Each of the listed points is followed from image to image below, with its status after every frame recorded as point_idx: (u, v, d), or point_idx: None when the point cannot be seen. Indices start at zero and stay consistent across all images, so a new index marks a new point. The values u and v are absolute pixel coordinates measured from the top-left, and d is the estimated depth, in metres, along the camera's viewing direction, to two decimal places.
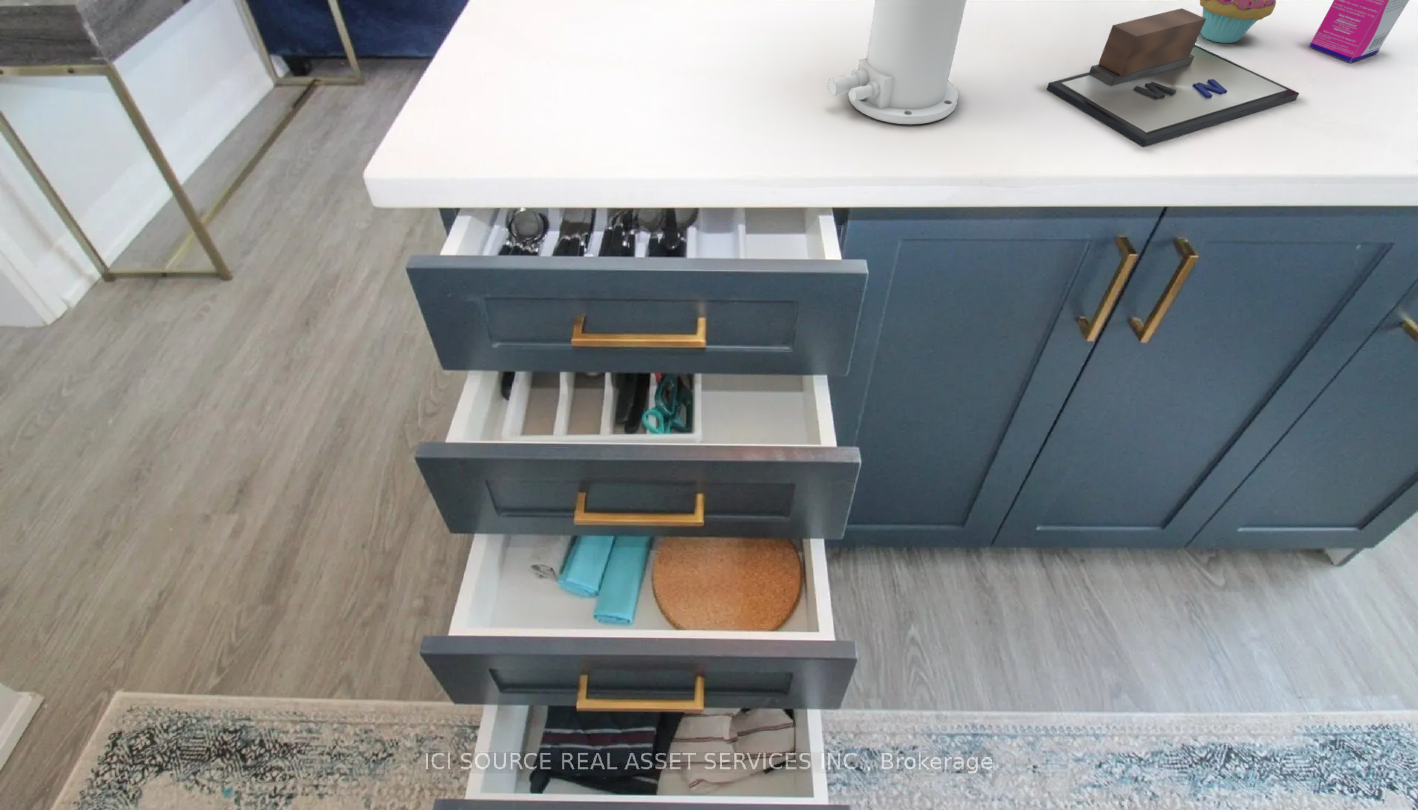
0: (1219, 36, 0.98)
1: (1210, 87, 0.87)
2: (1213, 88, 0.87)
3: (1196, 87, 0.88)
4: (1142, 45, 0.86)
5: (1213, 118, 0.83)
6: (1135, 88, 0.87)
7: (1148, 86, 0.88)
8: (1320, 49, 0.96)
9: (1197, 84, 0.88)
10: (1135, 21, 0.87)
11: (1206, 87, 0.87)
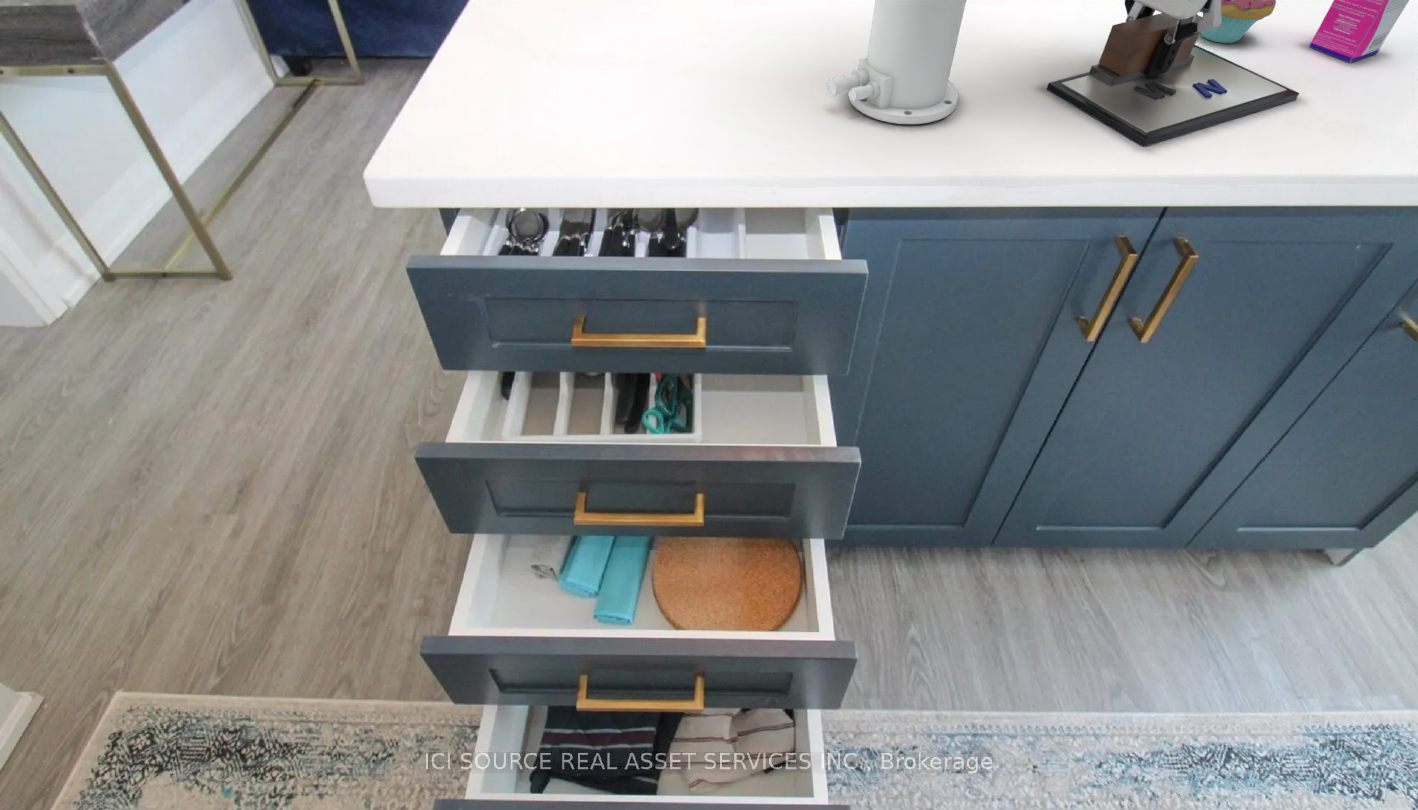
0: (1219, 36, 0.98)
1: (1210, 87, 0.87)
2: (1213, 88, 0.87)
3: (1196, 87, 0.88)
4: (1142, 45, 0.86)
5: (1213, 118, 0.83)
6: (1135, 88, 0.87)
7: (1148, 86, 0.88)
8: (1320, 49, 0.96)
9: (1197, 84, 0.88)
10: (1135, 21, 0.87)
11: (1206, 87, 0.87)
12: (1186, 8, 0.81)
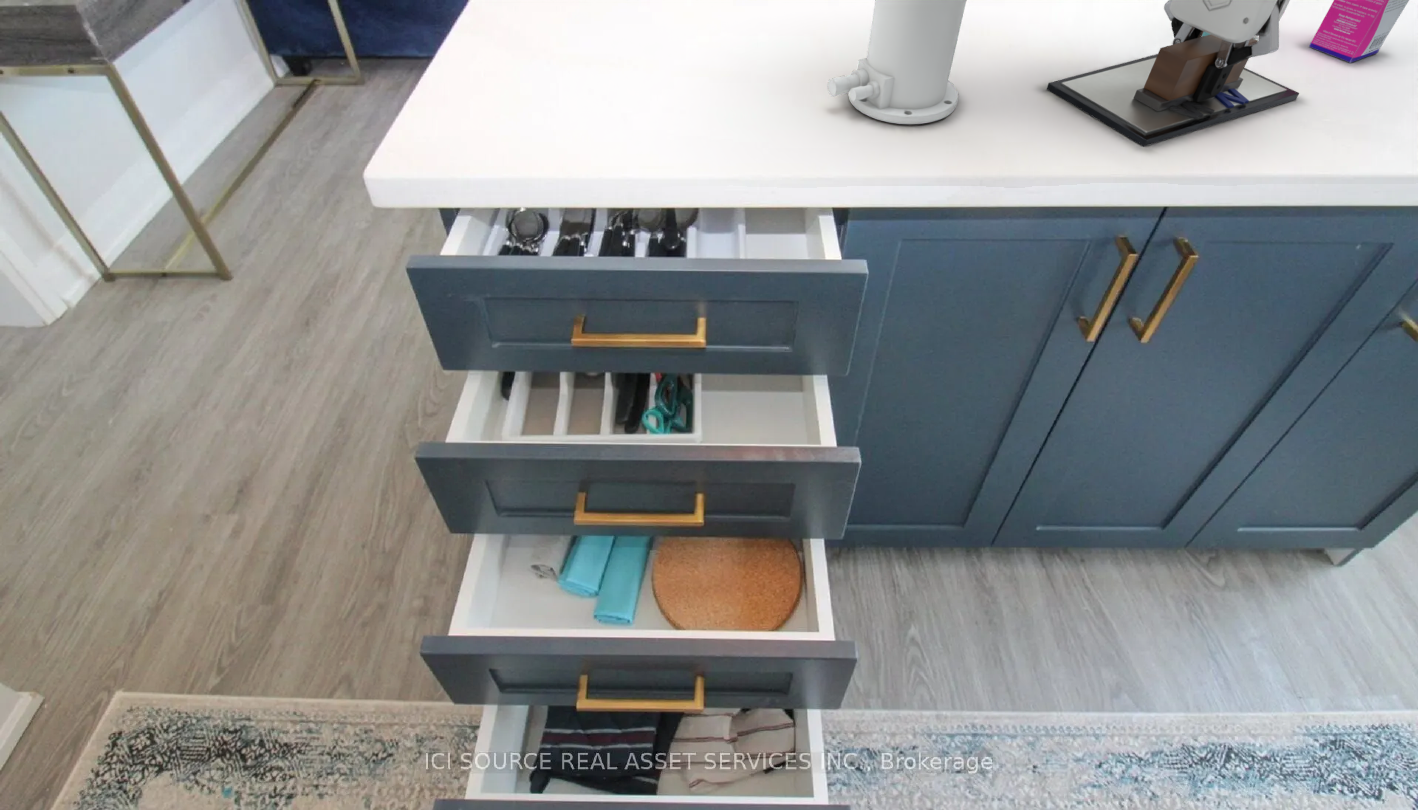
0: None
1: (1231, 97, 0.86)
2: (1234, 98, 0.86)
3: (1217, 97, 0.86)
4: (1191, 69, 0.82)
5: (1213, 118, 0.83)
6: (1171, 108, 0.84)
7: (1185, 105, 0.85)
8: (1320, 49, 0.96)
9: (1218, 94, 0.86)
10: (1184, 43, 0.83)
11: (1227, 97, 0.86)
12: (1242, 31, 0.77)
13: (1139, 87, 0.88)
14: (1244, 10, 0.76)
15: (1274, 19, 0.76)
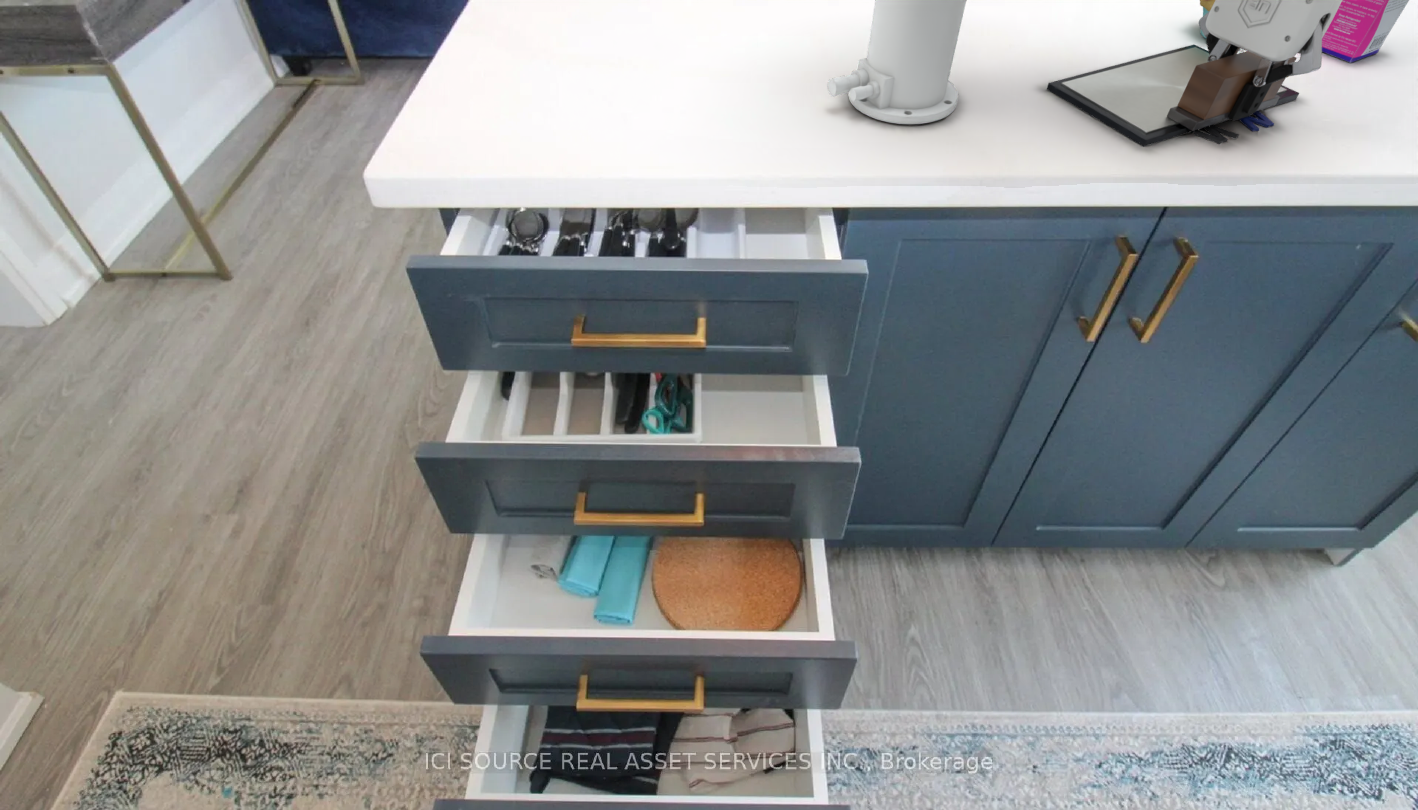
0: None
1: (1255, 119, 0.84)
2: (1259, 121, 0.84)
3: (1241, 119, 0.84)
4: (1229, 88, 0.79)
5: None
6: (1195, 132, 0.83)
7: (1208, 129, 0.83)
8: None
9: None
10: (1220, 61, 0.80)
11: (1252, 119, 0.84)
12: (1283, 50, 0.74)
13: (1139, 87, 0.88)
14: (1286, 27, 0.73)
15: (1317, 37, 0.74)
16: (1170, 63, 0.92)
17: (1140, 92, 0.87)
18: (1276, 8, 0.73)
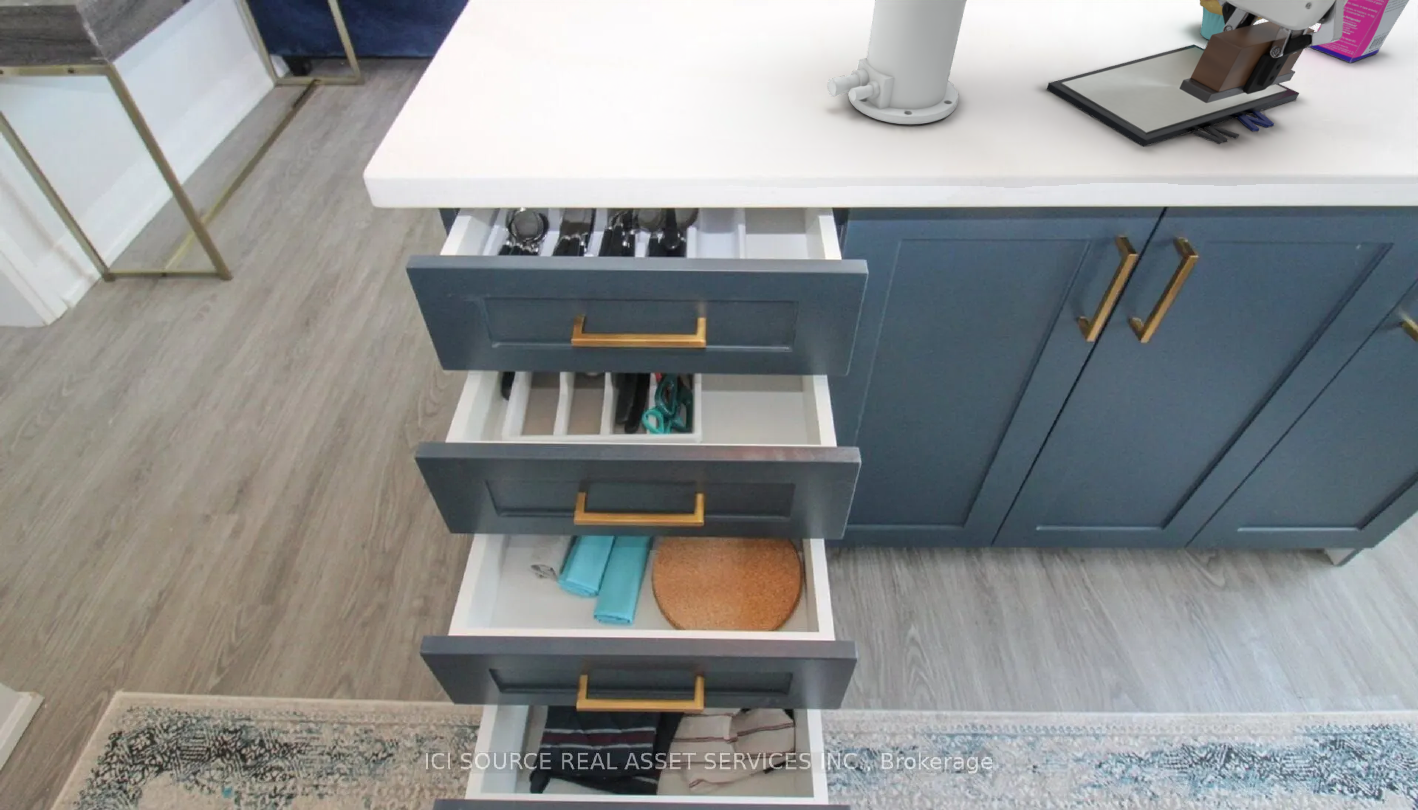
0: None
1: (1255, 119, 0.84)
2: (1259, 121, 0.84)
3: (1241, 119, 0.84)
4: (1245, 58, 0.76)
5: (1213, 118, 0.83)
6: (1195, 132, 0.83)
7: (1208, 129, 0.83)
8: (1320, 49, 0.96)
9: (1242, 116, 0.85)
10: (1236, 31, 0.77)
11: (1252, 119, 0.84)
12: (1303, 17, 0.71)
13: (1139, 87, 0.88)
14: None
15: (1339, 5, 0.71)
16: (1170, 63, 0.92)
17: (1140, 92, 0.87)
18: None
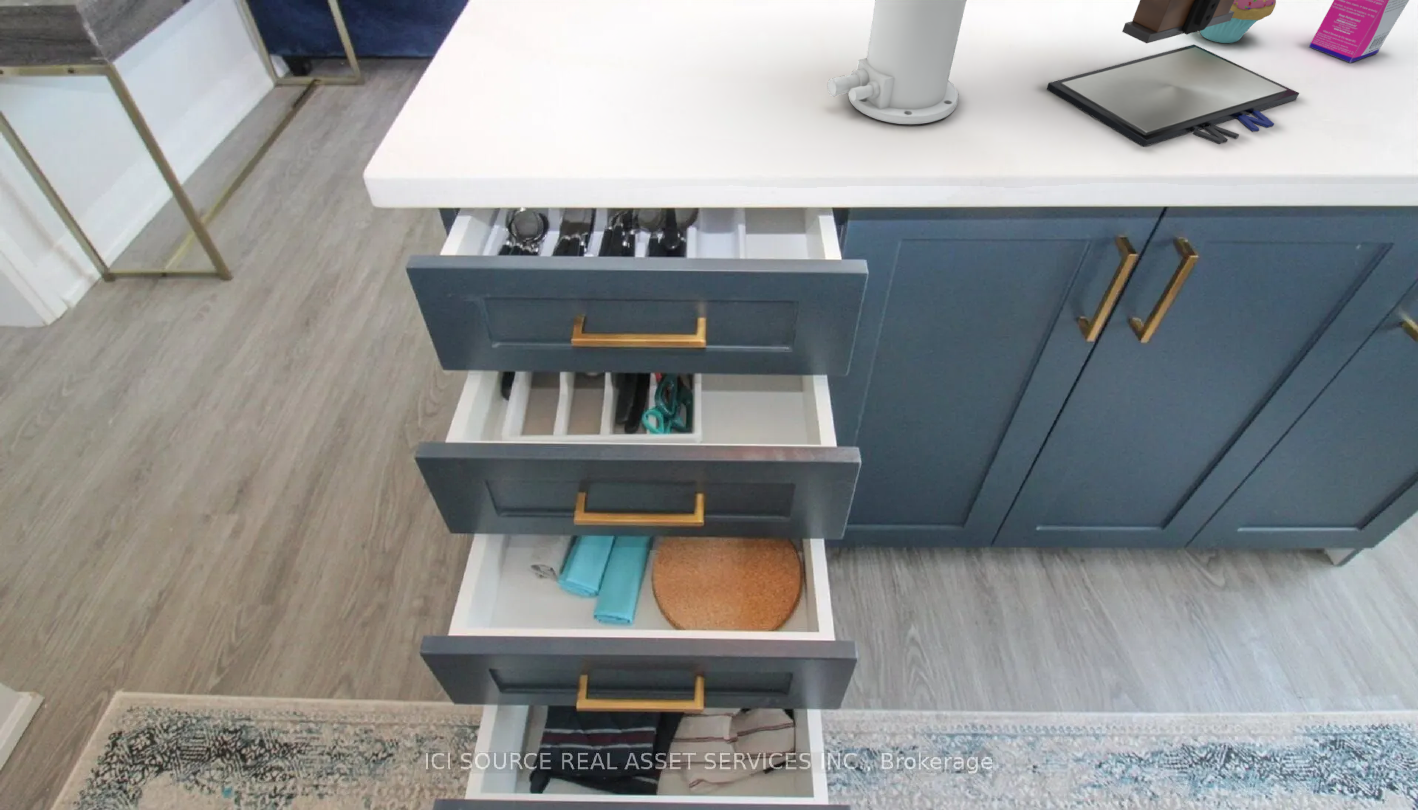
0: (1219, 36, 0.98)
1: (1255, 119, 0.84)
2: (1259, 121, 0.84)
3: (1241, 119, 0.84)
4: None
5: (1213, 118, 0.83)
6: (1195, 132, 0.83)
7: (1208, 129, 0.83)
8: (1320, 49, 0.96)
9: (1242, 116, 0.85)
10: None
11: (1252, 119, 0.84)
12: None
13: (1139, 87, 0.88)
14: None
15: None
16: (1170, 63, 0.92)
17: (1140, 92, 0.87)
18: None
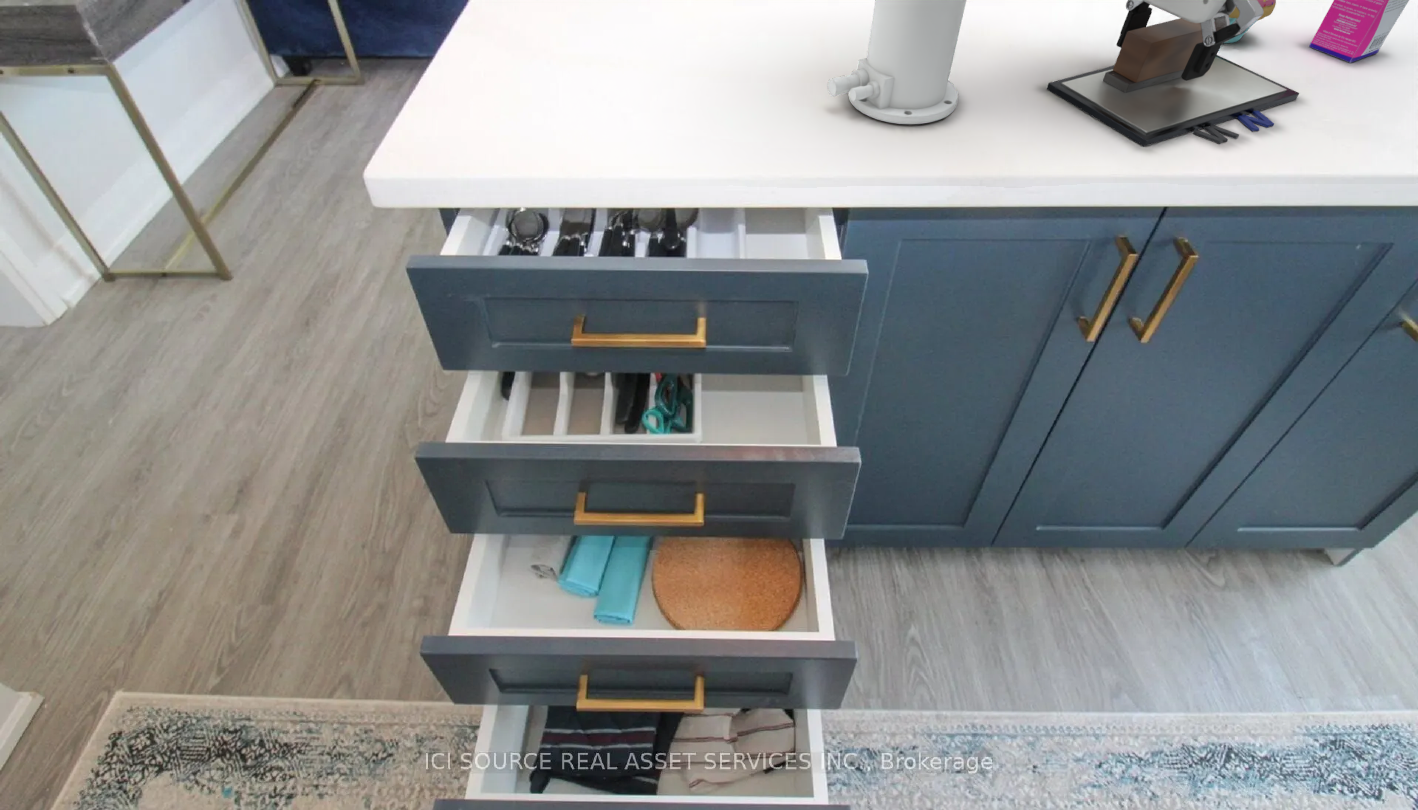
0: None
1: (1255, 119, 0.84)
2: (1259, 121, 0.84)
3: (1241, 119, 0.84)
4: (1157, 52, 0.85)
5: (1213, 118, 0.83)
6: (1195, 132, 0.83)
7: (1208, 129, 0.83)
8: (1320, 49, 0.96)
9: (1242, 116, 0.85)
10: (1150, 27, 0.86)
11: (1252, 119, 0.84)
12: (1202, 12, 0.80)
13: None
14: None
15: None
16: None
17: (1140, 92, 0.87)
18: None
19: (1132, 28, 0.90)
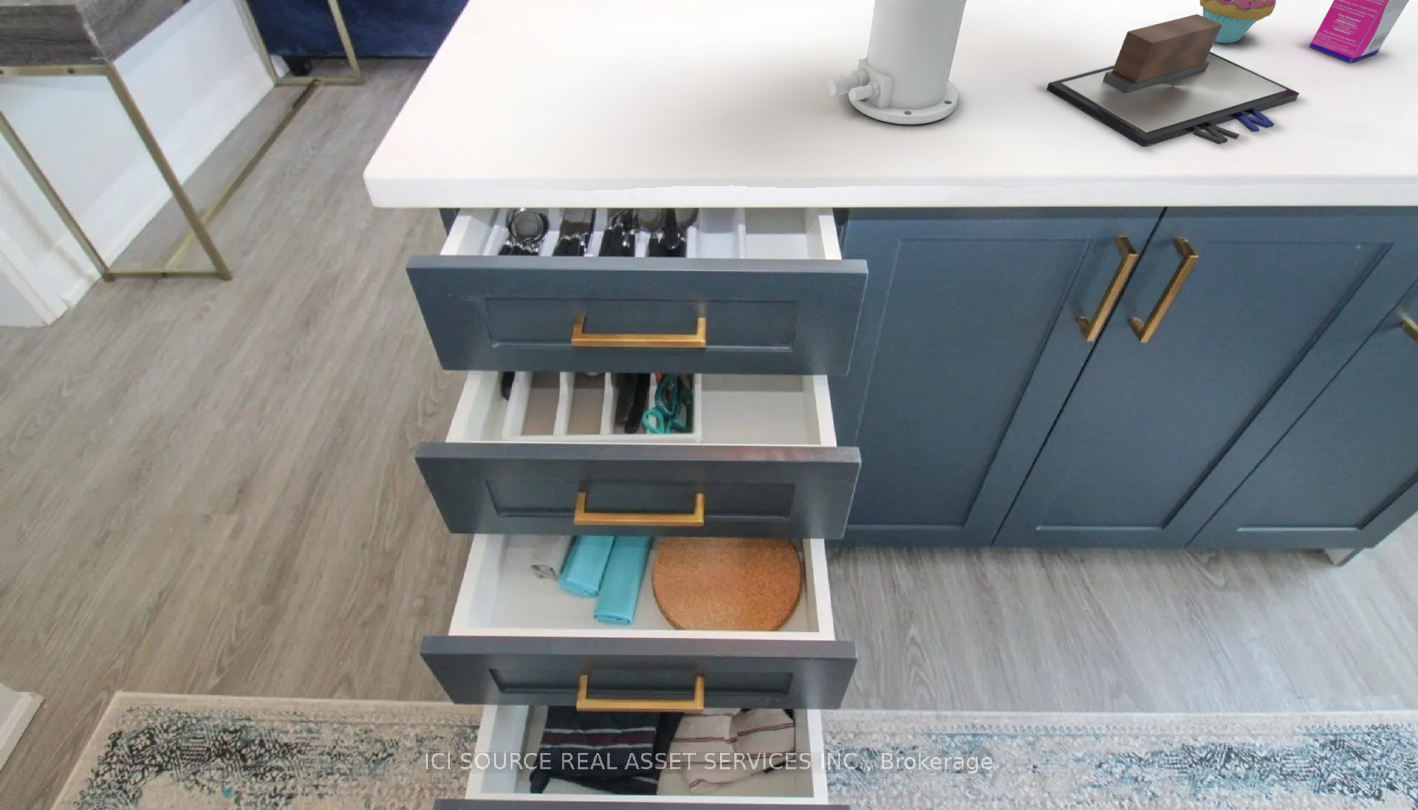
0: (1219, 36, 0.98)
1: (1255, 119, 0.84)
2: (1259, 121, 0.84)
3: (1241, 119, 0.84)
4: (1157, 52, 0.85)
5: (1213, 118, 0.83)
6: (1195, 132, 0.83)
7: (1208, 129, 0.83)
8: (1320, 49, 0.96)
9: (1242, 116, 0.85)
10: (1150, 27, 0.86)
11: (1252, 119, 0.84)
12: None
13: None
14: None
15: None
16: None
17: (1140, 92, 0.87)
18: None
19: None
